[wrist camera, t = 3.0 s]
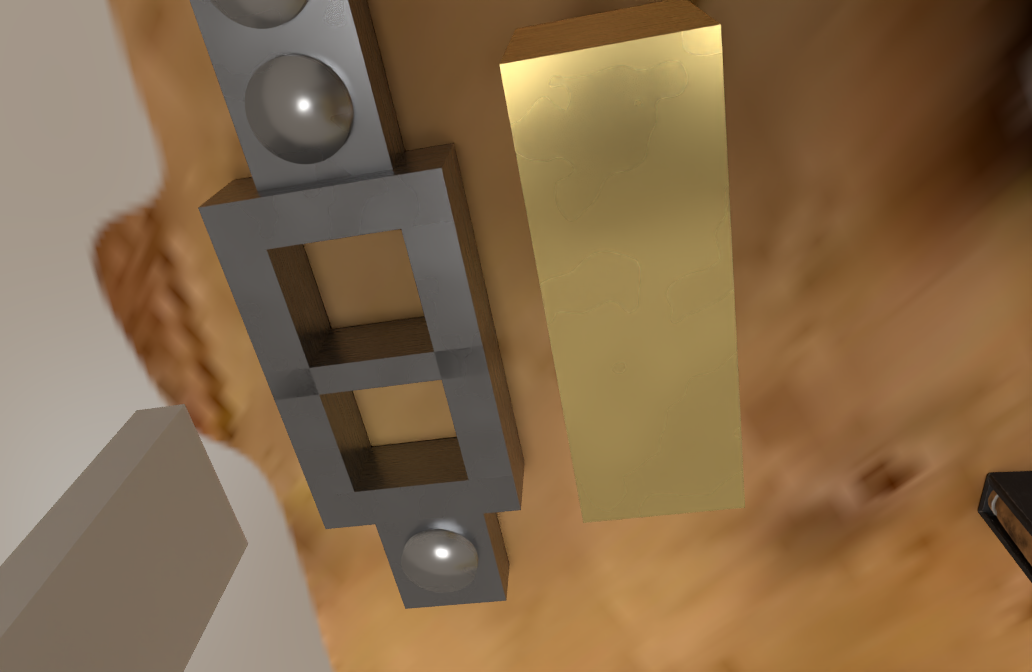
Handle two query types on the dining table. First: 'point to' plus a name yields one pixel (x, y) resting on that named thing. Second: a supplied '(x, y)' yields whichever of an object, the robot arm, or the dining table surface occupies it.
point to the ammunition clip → (1010, 513)
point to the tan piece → (634, 251)
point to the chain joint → (374, 347)
